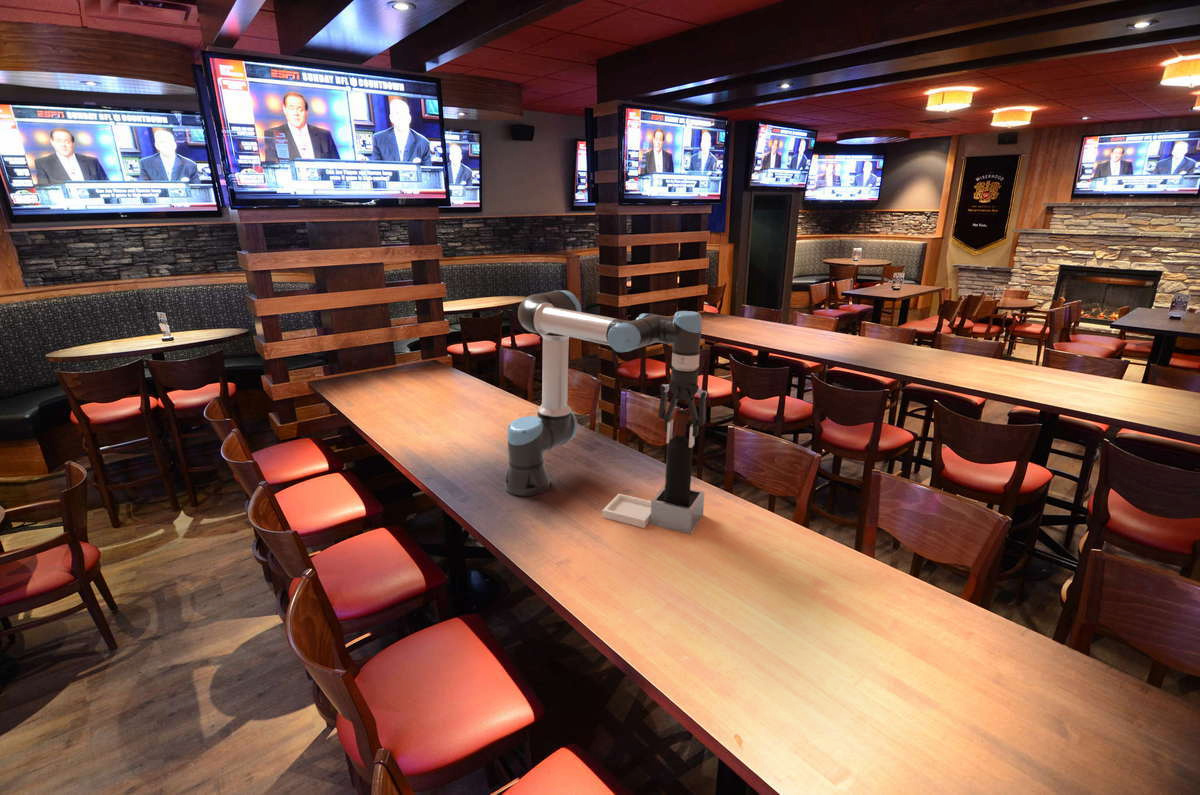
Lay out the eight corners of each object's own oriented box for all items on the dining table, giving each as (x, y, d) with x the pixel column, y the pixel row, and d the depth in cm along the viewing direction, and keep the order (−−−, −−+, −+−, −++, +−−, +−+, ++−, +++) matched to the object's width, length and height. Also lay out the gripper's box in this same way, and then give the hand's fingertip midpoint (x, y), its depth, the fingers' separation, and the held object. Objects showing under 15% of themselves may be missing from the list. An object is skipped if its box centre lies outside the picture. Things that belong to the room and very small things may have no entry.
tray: (602, 517, 177) (602, 509, 176) (618, 500, 187) (618, 493, 186) (644, 528, 171) (644, 520, 170) (659, 510, 181) (659, 503, 181)
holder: (650, 524, 173) (651, 500, 171) (664, 506, 184) (665, 483, 181) (690, 534, 168) (691, 510, 165) (702, 515, 179) (704, 492, 176)
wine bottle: (669, 512, 170) (675, 417, 160) (660, 499, 177) (665, 408, 167) (693, 509, 172) (700, 415, 162) (683, 497, 179) (689, 406, 169)
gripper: (648, 366, 161) (645, 442, 169) (714, 375, 153) (708, 455, 161) (657, 360, 168) (654, 433, 175) (722, 368, 160) (715, 445, 167)
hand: (680, 443), depth 168 cm, fingers closed on wine bottle, 6 cm apart
